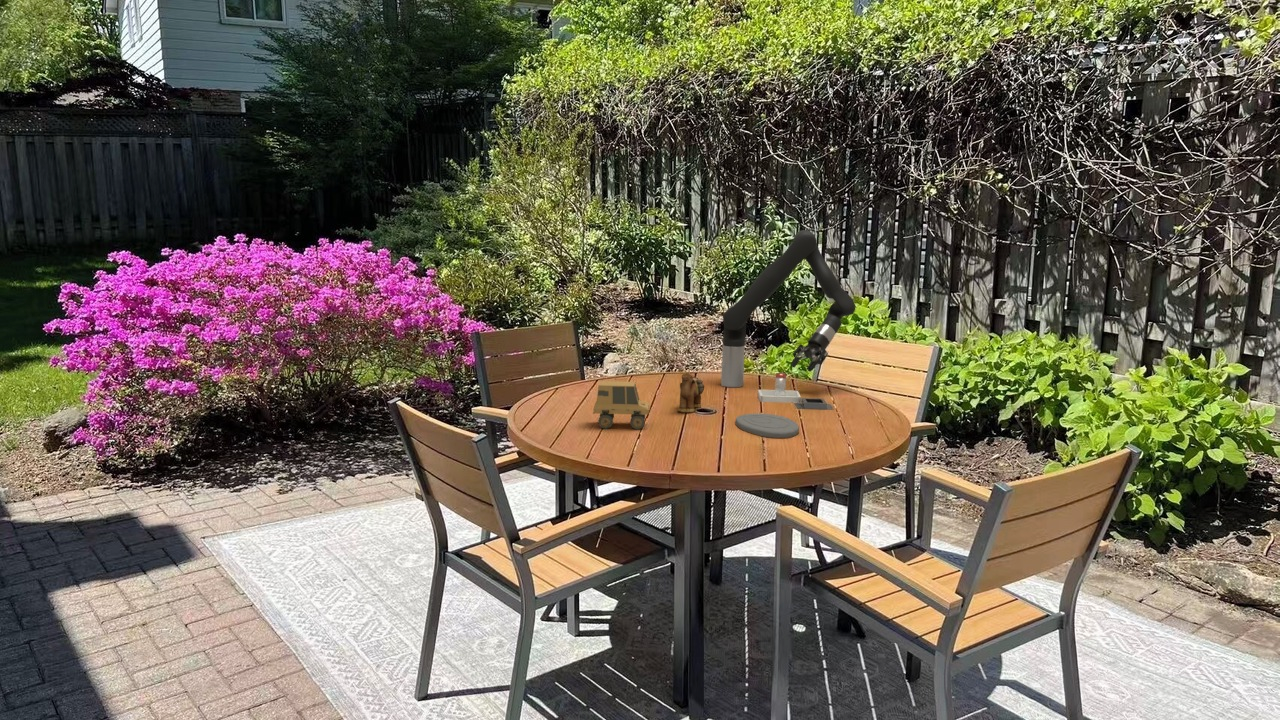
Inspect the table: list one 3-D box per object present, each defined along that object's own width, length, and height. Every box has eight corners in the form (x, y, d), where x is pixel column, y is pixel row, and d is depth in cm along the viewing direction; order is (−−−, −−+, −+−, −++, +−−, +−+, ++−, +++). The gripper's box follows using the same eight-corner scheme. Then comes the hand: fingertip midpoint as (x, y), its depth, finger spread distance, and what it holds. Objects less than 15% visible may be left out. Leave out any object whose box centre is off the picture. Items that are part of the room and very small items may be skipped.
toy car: (648, 430, 300) (649, 387, 297) (592, 429, 301) (593, 386, 298) (649, 422, 310) (649, 381, 307) (594, 421, 311) (595, 379, 308)
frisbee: (763, 441, 290) (763, 434, 289) (723, 421, 314) (724, 414, 314) (815, 436, 298) (815, 428, 297) (772, 417, 322) (772, 410, 322)
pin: (774, 399, 344) (776, 374, 342) (773, 397, 348) (775, 372, 346) (785, 400, 344) (786, 375, 342) (784, 397, 348) (785, 373, 346)
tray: (760, 403, 340) (760, 396, 340) (757, 396, 352) (758, 389, 351) (800, 404, 340) (801, 397, 339) (797, 398, 351) (797, 390, 351)
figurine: (671, 413, 323) (672, 373, 321) (684, 404, 337) (685, 366, 335) (696, 416, 320) (697, 375, 317) (707, 406, 334) (709, 368, 331)
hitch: (796, 410, 330) (797, 403, 330) (793, 405, 339) (794, 397, 339) (834, 411, 330) (834, 404, 329) (830, 406, 339) (830, 398, 338)
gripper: (804, 329, 359) (783, 359, 354) (831, 334, 348) (809, 365, 343) (812, 340, 363) (791, 370, 358) (839, 346, 352) (817, 377, 347)
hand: (800, 368), depth 351 cm, fingers open, 8 cm apart
